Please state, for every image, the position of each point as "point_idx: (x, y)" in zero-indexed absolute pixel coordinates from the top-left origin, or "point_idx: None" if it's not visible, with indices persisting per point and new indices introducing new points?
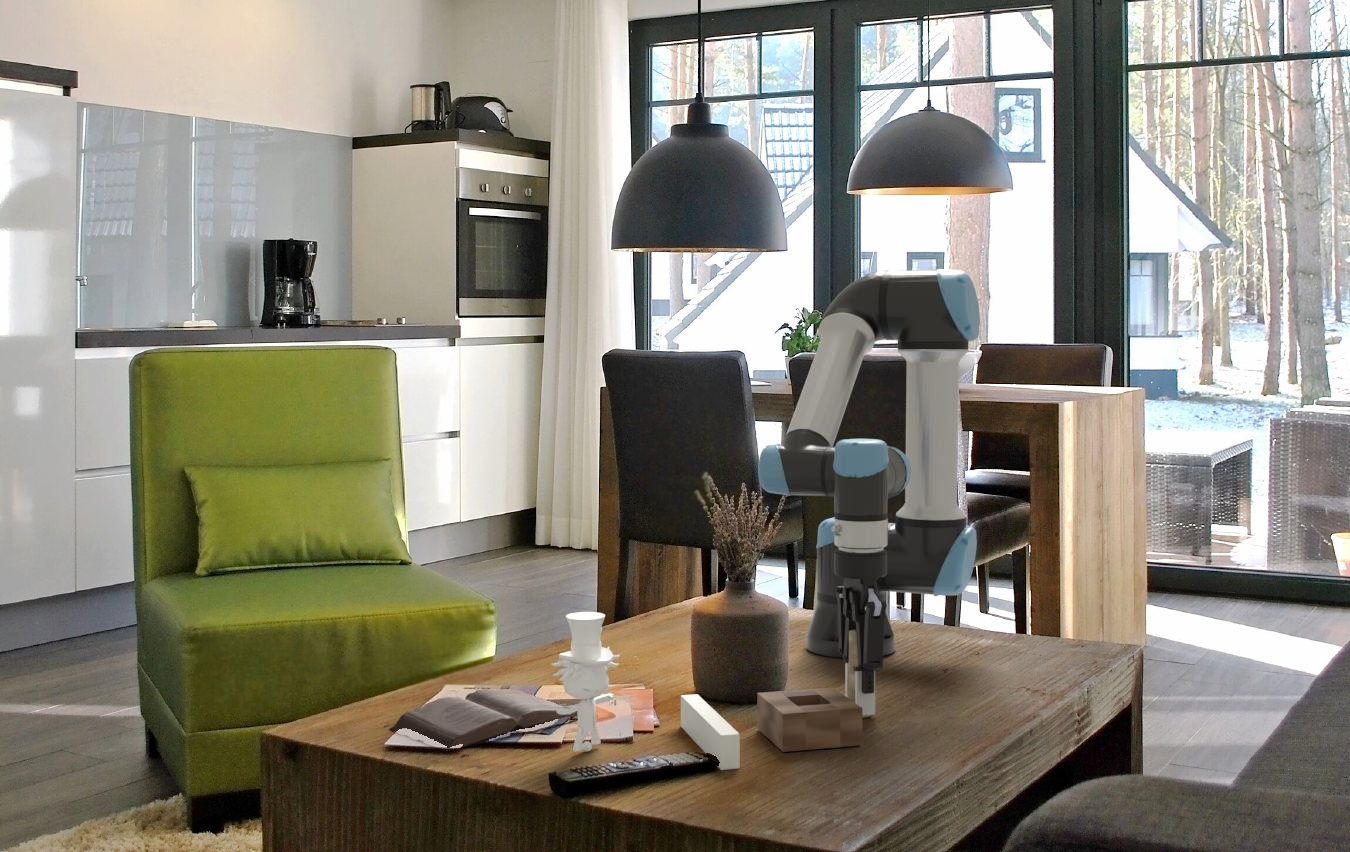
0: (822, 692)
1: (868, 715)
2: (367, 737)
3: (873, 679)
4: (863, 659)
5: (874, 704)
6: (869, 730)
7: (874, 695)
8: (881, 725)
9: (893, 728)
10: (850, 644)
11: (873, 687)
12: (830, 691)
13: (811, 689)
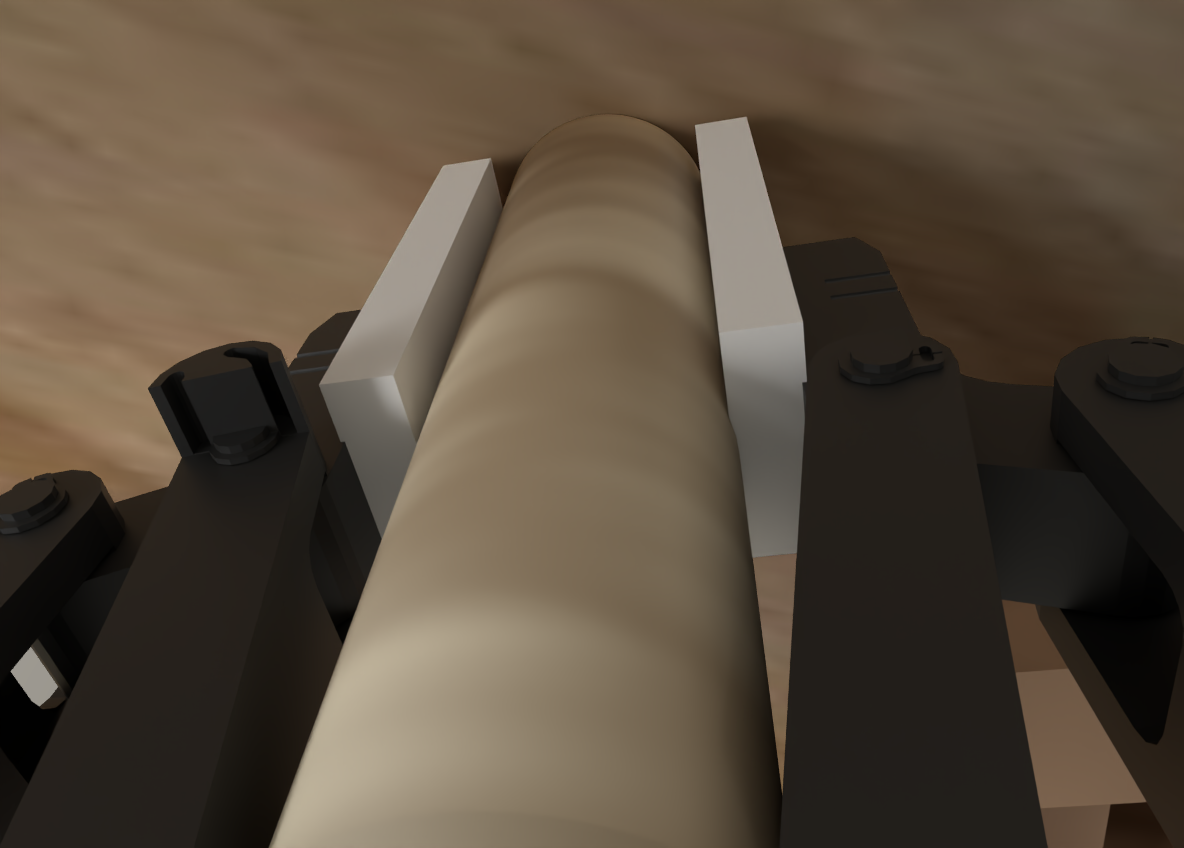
0: (1053, 776)
1: (690, 160)
2: None
3: (909, 320)
4: (1074, 671)
5: (752, 152)
6: (1093, 240)
7: (761, 186)
8: (979, 98)
9: (1117, 3)
10: None
11: (885, 272)
12: (1045, 722)
13: None
